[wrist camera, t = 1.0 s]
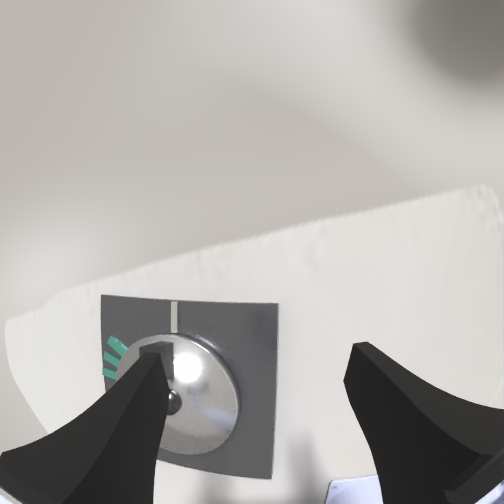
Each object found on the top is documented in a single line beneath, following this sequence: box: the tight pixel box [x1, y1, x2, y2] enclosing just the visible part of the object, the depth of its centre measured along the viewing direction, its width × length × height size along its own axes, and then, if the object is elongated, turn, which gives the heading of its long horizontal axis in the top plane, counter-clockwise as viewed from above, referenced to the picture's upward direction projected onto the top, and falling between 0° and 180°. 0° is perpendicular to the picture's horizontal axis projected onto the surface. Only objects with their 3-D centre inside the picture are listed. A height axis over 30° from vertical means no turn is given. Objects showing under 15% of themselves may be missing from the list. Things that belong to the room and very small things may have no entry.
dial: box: [116, 334, 240, 455], centre depth 19 cm, size 12×12×5 cm
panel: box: [101, 295, 279, 479], centre depth 22 cm, size 18×18×2 cm
